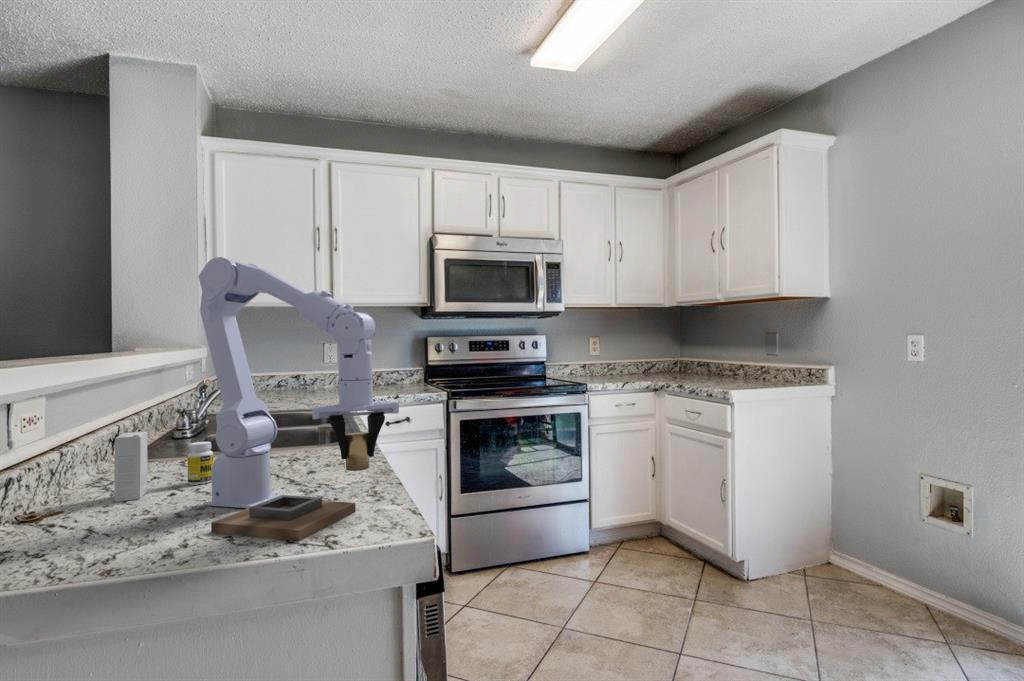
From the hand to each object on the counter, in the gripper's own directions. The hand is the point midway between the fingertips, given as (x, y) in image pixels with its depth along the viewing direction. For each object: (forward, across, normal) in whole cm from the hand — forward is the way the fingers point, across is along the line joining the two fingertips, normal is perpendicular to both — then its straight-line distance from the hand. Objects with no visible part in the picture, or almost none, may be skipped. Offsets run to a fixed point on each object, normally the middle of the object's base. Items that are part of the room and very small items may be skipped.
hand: (357, 457), depth 96 cm
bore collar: (+7, -12, -5) cm, 14 cm away
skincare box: (+9, -39, +26) cm, 48 cm away
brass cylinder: (+2, 0, 0) cm, 2 cm away
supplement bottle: (+9, -28, +33) cm, 44 cm away
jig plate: (+8, -12, -5) cm, 15 cm away
